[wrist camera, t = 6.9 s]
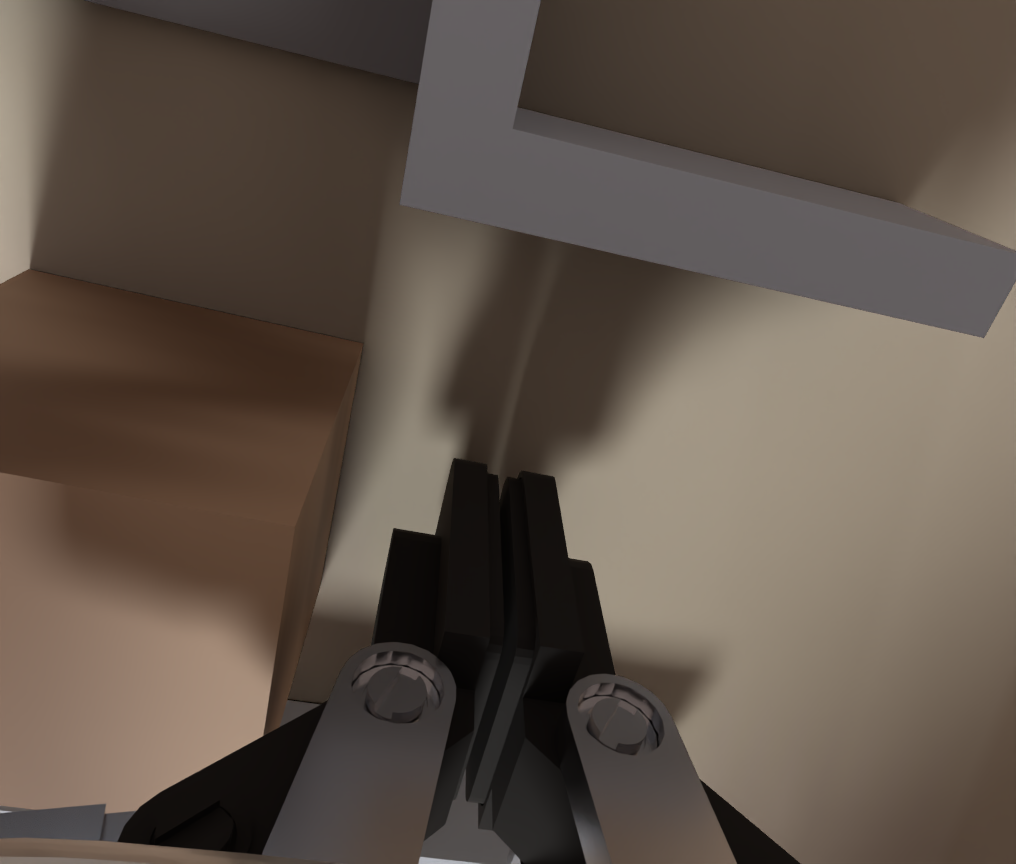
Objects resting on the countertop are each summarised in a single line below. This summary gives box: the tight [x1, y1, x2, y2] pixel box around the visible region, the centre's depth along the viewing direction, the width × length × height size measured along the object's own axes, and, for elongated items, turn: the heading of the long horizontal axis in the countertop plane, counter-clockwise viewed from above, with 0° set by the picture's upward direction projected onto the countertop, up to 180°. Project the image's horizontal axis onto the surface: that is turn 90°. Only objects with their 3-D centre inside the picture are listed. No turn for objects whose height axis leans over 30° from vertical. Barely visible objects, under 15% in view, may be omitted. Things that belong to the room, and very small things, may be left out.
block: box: [0, 269, 363, 814], centre depth 10 cm, size 5×5×5 cm
